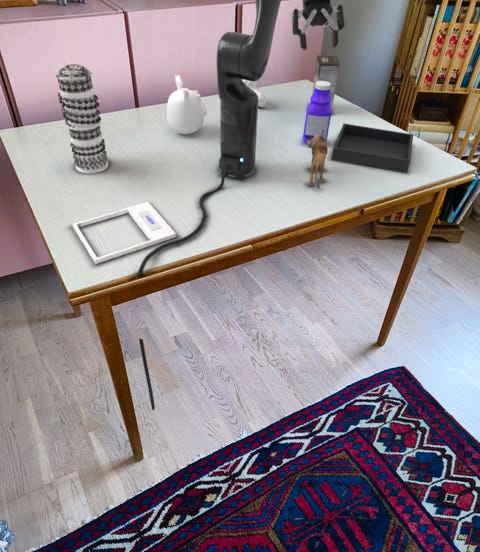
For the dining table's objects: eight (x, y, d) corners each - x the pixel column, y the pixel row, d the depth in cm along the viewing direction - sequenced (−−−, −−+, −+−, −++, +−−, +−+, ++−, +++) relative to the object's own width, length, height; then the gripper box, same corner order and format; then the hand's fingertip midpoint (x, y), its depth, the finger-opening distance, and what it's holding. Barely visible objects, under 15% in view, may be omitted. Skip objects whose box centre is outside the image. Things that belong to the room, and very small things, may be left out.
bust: (243, 104, 164) (226, 81, 155) (258, 88, 163) (242, 64, 154) (260, 117, 156) (243, 93, 147) (276, 100, 155) (260, 76, 146)
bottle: (326, 139, 139) (335, 80, 128) (326, 147, 135) (336, 87, 124) (302, 137, 140) (309, 78, 128) (302, 146, 136) (309, 85, 124)
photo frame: (175, 232, 100) (94, 259, 92) (176, 236, 101) (95, 264, 93) (147, 201, 109) (72, 223, 101) (148, 205, 110) (73, 227, 102)
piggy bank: (214, 134, 140) (213, 84, 130) (180, 143, 134) (176, 91, 125) (193, 120, 147) (191, 71, 137) (160, 128, 142) (156, 77, 132)
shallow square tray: (406, 173, 125) (410, 161, 123) (331, 159, 130) (333, 147, 127) (410, 145, 138) (413, 134, 135) (341, 134, 142) (343, 123, 140)
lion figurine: (303, 162, 128) (307, 131, 122) (322, 163, 128) (327, 132, 122) (308, 190, 117) (313, 157, 111) (329, 190, 117) (335, 158, 111)
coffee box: (310, 103, 160) (316, 54, 149) (328, 104, 160) (336, 55, 150) (313, 114, 153) (319, 63, 143) (332, 115, 153) (340, 64, 143)
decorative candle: (66, 170, 121) (42, 70, 105) (87, 155, 128) (67, 59, 111) (97, 177, 119) (77, 76, 102) (116, 161, 126) (100, 64, 109)
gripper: (292, -19, 123) (297, 46, 127) (344, -24, 124) (348, 41, 127) (287, -7, 131) (292, 54, 134) (336, -12, 131) (340, 49, 135)
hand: (319, 48), depth 131 cm, fingers open, 8 cm apart
